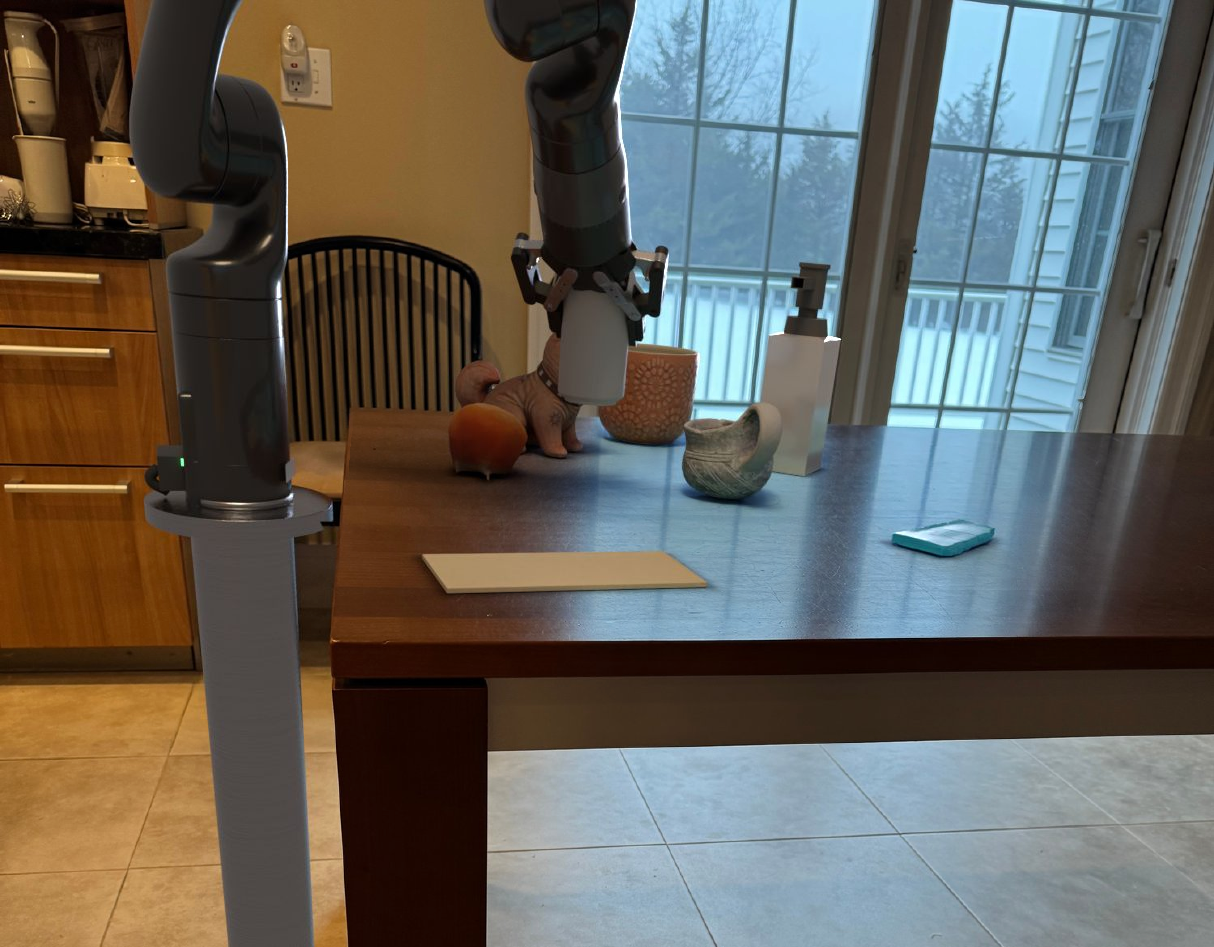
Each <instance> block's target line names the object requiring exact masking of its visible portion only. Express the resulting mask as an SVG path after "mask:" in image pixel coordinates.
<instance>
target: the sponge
mask: <svg viewBox="0 0 1214 947" xmlns="http://www.w3.org/2000/svg"><path fill="white" fill-rule="evenodd" d="M995 531H996V528H995V527H992V526H988V525H986V524H985V525H984V524H980V523H976V522H972V521H969V520H966V519H954V520H951V521H949V522H941V523H934V524H932V525H927V526H923V527H916V528H911V529H907V530H904V531H903V530H900V531H897V532H893V533H892V534H891V543H893V544H897V545H899V546H903V547H906V548H910V549H913V550H918V551H922V552H926V553H930V554H934V555H937V556H945V557H952V556H957V555H960V554H962V553H963V552H965V551H969V550H971V548H974V547H977V546H979V545H982V544H985V543H986V544H987V543H988V542H989V541H991V540H992V538H993V537H994V535H995Z"/></svg>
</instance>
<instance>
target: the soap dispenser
mask: <svg viewBox="0 0 1214 947" xmlns="http://www.w3.org/2000/svg"><path fill="white" fill-rule="evenodd" d="M798 267H799V268H800V269H799V275H798V276H791V280H790V289H792V290H793V289H795V290H796V298H795V304H794V305H795V308H798V311H797V315H787V316H786V320H785V324H784V328H783V331H782V332H781V331H780V332H776V333H772V334H768V338H767V344H766V345H767V346H766V352H765V362H764V369H763V377H762V384H761V390H760V391H761V392H760V399H759V403H769V404H771V405H773V406H775V407H776V408H777V409H778V410H779V412H780V414H781V419H782V434H781V439H780V442H779V445H778V447H777V450H776V452H775V454H774V455H773V457H774V458H773V459H774V463H773V469H772V472H774V473H781V474H787V475H793V476H798V477H799V476H800V477H806V476H808V475H810V474H812V473H815V472H817V471H819V470H820V469H821V467H822V461H823V455H824V448H825V441H826V434H827V431H828V430H827V428H828V423H829V416H830V410H831V403H832V396H833V390H834V384H835V378H836V372H837V365H838V360H839V352H840V347H841V340H842V339H841V338H838V337H833V336H831V335H829V330H828V329H829V328H828V319H827V318H824V317H823V318H822V317H818V314H819V310H823V307H824V301H825V294H826V288H827V280H828V274H829V270H831V267H832V264H828V263H818V262H807V261H805V262H804V261H799V263H798Z"/></svg>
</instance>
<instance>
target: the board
mask: <svg viewBox="0 0 1214 947" xmlns="http://www.w3.org/2000/svg"><path fill="white" fill-rule="evenodd" d="M421 560H422V561H423V562H424V563H425V565H426V566H427V568H428V569H429V570H430V572H431V573H432V575H433V576H434V578H435V579H436V580H437V582H438V583H439V584H440V586H441V587H442V589H443V590H444V592H446V594H479V593H483V594H484V593H519V592H521V593H523V592H524V593H525V592H561V591H562V592H563V591H567V592H568V591H601V590H603V591H605V590H641V589H645V590H646V589H681V588H683V589H684V588H685V589H687V588H689V589H690V588H707V585H708V581H706V579H703V578H702V577H701V576H699V575H698V574H696V573H695V572H693V571H692V570H691V569H689V568H688V567H687V566H685V565H684V564H682V563H681V562H679V561H678V560H676V559H675V558H674V557H672V556H671V555H669V553H667V552H665V551H664V550H643V551H642V550H639V551H637V550H636V551H631V550H630V551H629V550H628V551H569V552H568V551H567V552H566V551H563V552H562V551H560V552H559V551H558V552H557V551H556V552H555V551H554V552H493V553H492V552H490V553H489V552H488V553H486V552H484V553H483V552H482V553H479V552H478V553H423V554H422V555H421Z"/></svg>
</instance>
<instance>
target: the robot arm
mask: <svg viewBox="0 0 1214 947" xmlns="http://www.w3.org/2000/svg"><path fill="white" fill-rule="evenodd" d="M243 1H244V0H151V2H150V7H149V10H148V15H147V21H146V24H145V28H144V32H143V37H142V41H141V46H140V51H139V54H138V59H137V64H136V69H135V74H134V78H133V83H132V88H131V89H132V90H131V96H130V98H131V99H130V106H129V113H128V114H129V119H128V122H129V123H128V128H129V129H128V131H129V133H128V134H129V144H130V151H131V154H132V156H131V157H132V160H133V164H134V166H135V169H136V172H137V173H138V176H139V177H140V179H141V181H142V183H143V184H144V185H145V186H146V187H147V189H148V190H150V191H151V192H152V193H153V194H155V195H157V196H159V197H161V198H164V199H168V200H172V201H177V202H184V203H194V204H206V205H211V219H210V225H209V227H207V228H208V229H207V230H206V231H205V233H204V234H203V235H202V236H200V237H199V238H198V239H197V240H196V241H194V242H193V243H190V244H189V245H187V246H185V247H183V248H180V249H178V250H175V251H173V252H172V253H171V254H169V255H168V256H167V258H166V261H165V278H166V287H167V288H166V290H167V291H168V292H167V294H168V306H169V316H170V328H171V339H172V351H173V362H174V373H175V374H174V375H175V384H176V385H175V386H176V387H175V388H176V397H177V408H178V409H177V410H178V418H179V428H180V429H179V430H180V440H181V445H179V444H178V445H176V444H175V445H172V444H171V445H169V444H168V445H167V444H157V445H156V463H157V464H156V463H153V464H152V465H150V466H149V467H148V468H147V469H146V470H145V472H144V481H145V484H146V485H147V487H149V488H150V489H151V490H152V491H154V490H155V491H157V492H159V493H161V494H163V495H165V496H166V495H168V493H169V492H170V491H185V497H186V500H187V506H188V507H204V508H211V509H218V510H230V511H256V510H268V509H274V508H279V507H283V506H286V505H288V504H290V503H292V502H293V492H292V490H291V485H292V483H293V482H292V481H293V480H292V479H293V478H294V477H295V476H296V465H295V463H296V462H295V457H292V458H291V452H290V431H289V430H290V429H289V410H288V407H289V406H288V392H287V391H288V389H287V370H286V349H285V332H284V314H283V313H284V310H283V309H284V308H283V299H282V297H283V293H282V291H283V290H282V284H283V283H282V282H283V276H284V272H285V269H286V265H287V262H288V261H287V260H288V254H289V252H288V250H289V227H288V226H289V223H288V222H289V219H288V218H289V163H288V162H289V159H288V146H287V138H286V132H285V126H284V123H283V120H282V116H281V113H280V109H279V107H278V105H277V103H276V101H275V99H274V98H273V96H272V95H271V93H270V92H269V90H267V89H266V88H265V87H264V86H263V85H261V84H260V83H258V81H257V82H256V81H254V80H252V79H249V78H244V77H240V76H235V75H230V74H226V73H225V74H224V73H219V68H220V64H221V59H222V56H223V51H224V48H225V44H226V40H227V37H228V35H229V31H230V27H231V25H232V23H233V20H234V18H235V16H236V14H237V11H238V10H239V8H240V7H241V5H242V3H243ZM637 3H638V0H483V6H484V12H485V16H486V20H487V22H488V25H489V29H490V30H491V32H492V35H493V36H494V38H495V40H496V41H497V43H498V44H499V46H500V47H501V48H502V49H503V50H504V51H505V52H506V53H507V54H508V55H510V56H511V57H512V58H514V59H515V60H517V61H520V62H522V63H533V64H532V66H531V67H530V68H529V71H528V72H527V75H526V78H525V82H524V102H525V112H526V116H527V122H528V128H529V135H530V141H531V150H532V151H531V152H532V176H533V182H532V183H533V191H534V194H535V196H536V201H537V208H538V214H539V221H540V227H541V233H542V238H543V239H542V240H538V239H537V240H536V239H535V240H534V239H533V240H532V239H531V237H530V236H529V235H528V233H526V232H518V233H517V234H516V236H515V240H514V242H513V243H514V244H513V247H512V251H511V254H510V261H511V265H512V268H513V271H514V274H515V277H516V280H517V284H518V286H519V289H520V294H521V296H522V299H523V302H524V303H525V304H527V305H529V306H534V305H536V304H540V305H542V306H543V309H544V310H545V311H546V318H547V323H548V329H549V330H550V332H551V333H553V332H555V333H556V338H559V339H561V330H562V314H563V299H564V297H565V296H566V294H567V292H568V291H569V289H570V287H573V290H577V291H586V290H592V291H595V292H598V293H607V294H608V296H609V297H610V298H611V300H612V301H613V303H614V304H615V305H616V306H621V307H622V309H623V310H624V312H625V313H626V314H627V316H628V317H627V329H628V340H629V346H634V347H636V346H637V343H639V342H643V340H644V337H645V333H646V330H647V316H649V317H650V318H659V317H660V315H661V312H662V307H663V304H664V299H665V295H666V294H665V293H666V286H667V276H668V264H669V257H670V256H669V254H670V250H669V248H668V247H667V246H665V245H658V246H656V247H655V249H654V252H652V251H647V250H641V249H639V248H638V246H637V244H636V243H635V241H634V240H633V237H632V227H631V210H630V194H629V193H630V192H629V178H628V165H627V156H626V151H625V150H626V149H625V147H624V142H623V134H622V120H621V108H620V106H621V105H620V93H619V92H620V85H621V82H622V78H623V72H624V68H625V62H626V57H627V53H628V48H629V44H630V38H631V34H632V29H633V27H634V26H633V25H634V21H635V15H636V9H637ZM539 258H541V259H542V261H543V262H544V263H545V265H547V266H548V267H549V268H550V269H551V271H553V272H554V274H553V275H552V277H551V279H550V280H549V282H545V281H543V280H542V276H541V273H540V270H539V269H540V268H539V265H538V261H539ZM635 267H637V268H639V269H640V270H641V273H642V276H643V277H644V281H645V282H647V283H648V282H649V283H648V291H646V292H645V291H644V289H643V288H642V287H641V285H640V284H639V282H638V281H637V278H636V273H635V271H634V269H635Z"/></svg>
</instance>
